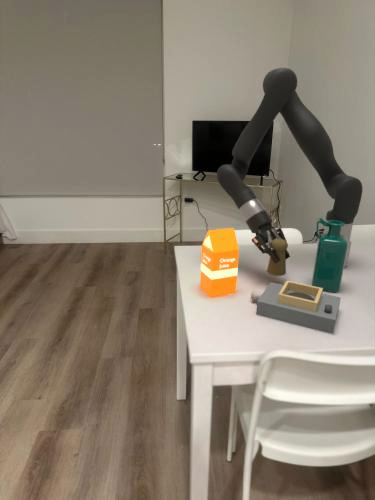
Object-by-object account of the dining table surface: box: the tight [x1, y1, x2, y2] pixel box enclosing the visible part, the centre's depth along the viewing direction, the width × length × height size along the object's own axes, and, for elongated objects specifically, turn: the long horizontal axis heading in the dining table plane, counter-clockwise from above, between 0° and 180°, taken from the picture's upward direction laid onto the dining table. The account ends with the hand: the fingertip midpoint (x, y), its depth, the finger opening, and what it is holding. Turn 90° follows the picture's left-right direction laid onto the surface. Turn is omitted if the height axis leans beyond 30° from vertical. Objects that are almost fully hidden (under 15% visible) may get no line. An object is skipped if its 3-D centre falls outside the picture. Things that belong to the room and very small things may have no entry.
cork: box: [266, 239, 289, 277], centre depth 115 cm, size 6×6×11 cm
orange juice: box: [199, 227, 240, 299], centre depth 109 cm, size 8×9×20 cm
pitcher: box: [311, 217, 348, 293], centre depth 114 cm, size 10×8×22 cm
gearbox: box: [250, 280, 342, 335], centre depth 101 cm, size 24×14×6 cm, turn 63°
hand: (282, 260), depth 114 cm, fingers closed on cork, 4 cm apart
